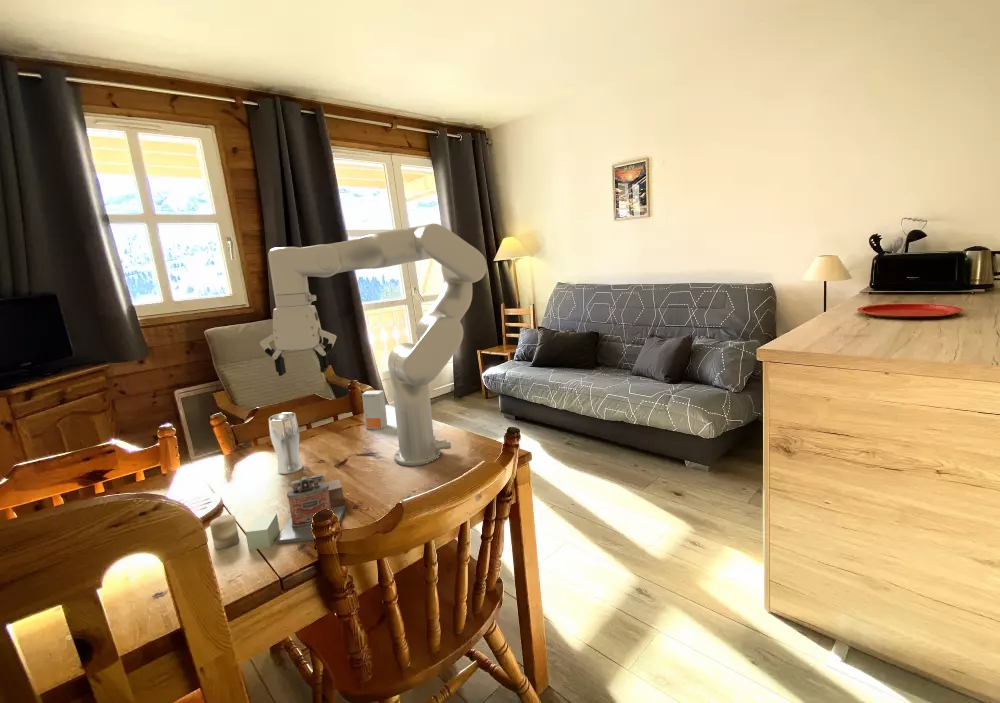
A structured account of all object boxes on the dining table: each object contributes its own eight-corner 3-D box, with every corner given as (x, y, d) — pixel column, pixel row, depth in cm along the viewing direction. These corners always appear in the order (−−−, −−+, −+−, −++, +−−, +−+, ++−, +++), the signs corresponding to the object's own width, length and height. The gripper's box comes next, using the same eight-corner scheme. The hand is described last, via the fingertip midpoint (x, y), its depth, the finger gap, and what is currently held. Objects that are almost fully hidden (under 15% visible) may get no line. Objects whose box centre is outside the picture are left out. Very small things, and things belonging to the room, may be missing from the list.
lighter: (292, 531, 99) (285, 485, 97) (291, 523, 102) (284, 479, 100) (333, 520, 102) (327, 476, 100) (332, 513, 105) (326, 470, 103)
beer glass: (294, 475, 127) (285, 421, 124) (270, 474, 128) (261, 420, 125) (309, 464, 133) (301, 412, 130) (286, 463, 135) (278, 411, 132)
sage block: (276, 513, 100) (256, 515, 99) (267, 529, 94) (245, 532, 94) (279, 531, 101) (259, 533, 100) (270, 547, 95) (248, 550, 94)
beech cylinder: (242, 535, 100) (238, 513, 99) (234, 547, 95) (230, 524, 94) (219, 538, 99) (215, 516, 98) (210, 551, 95) (205, 528, 94)
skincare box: (365, 429, 158) (361, 394, 156) (370, 424, 162) (366, 390, 160) (382, 429, 157) (378, 393, 155) (388, 424, 161) (384, 390, 159)
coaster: (345, 509, 108) (344, 506, 107) (334, 537, 97) (333, 533, 97) (294, 515, 106) (293, 511, 106) (276, 544, 96) (276, 540, 96)
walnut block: (341, 497, 114) (338, 479, 113) (344, 505, 110) (342, 487, 109) (321, 502, 112) (318, 484, 111) (323, 511, 108) (321, 492, 107)
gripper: (334, 297, 117) (343, 366, 121) (260, 302, 116) (271, 372, 119) (327, 300, 110) (336, 373, 113) (247, 305, 108) (259, 379, 112)
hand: (303, 372), depth 116 cm, fingers open, 9 cm apart
